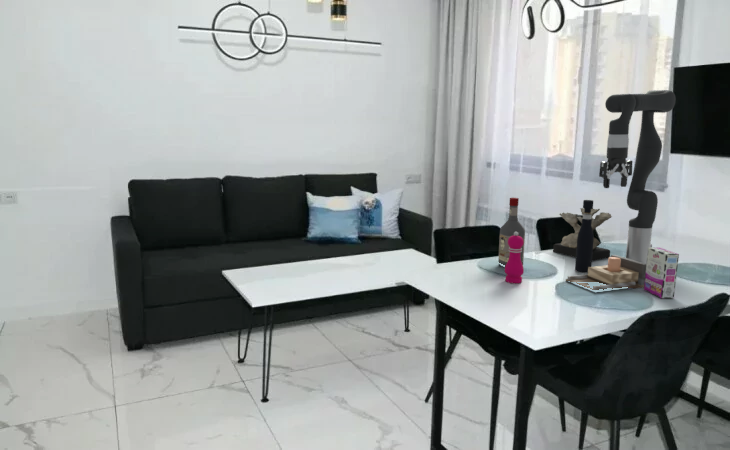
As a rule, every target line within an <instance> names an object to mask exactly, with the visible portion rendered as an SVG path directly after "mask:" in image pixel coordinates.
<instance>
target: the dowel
mask: <svg viewBox="0 0 730 450" xmlns="http://www.w3.org/2000/svg"><path fill="white" fill-rule="evenodd" d="M607 261H608V262H607V265H608V269H607V271H610V272H620V264H621V259H620V258H617V257H611V256H610V257H609V258H607Z"/></svg>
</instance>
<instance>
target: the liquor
mask: <svg viewBox="0 0 730 450" xmlns="http://www.w3.org/2000/svg"><path fill="white" fill-rule="evenodd" d="M518 210H519V198H518V197H510V198H509V212H508V218H507V219H508V220H507V221H506V222H505V223H504V224H502V226H501V227H500V229H499V238H498V239H499V241H498V242H499V244H498V262H499V263H501V264H503V265H505V266H506V264H507V262H508V260H509V255H510V251H509V247H510V246H509V245H508V239H509V237H511V236H513V235H514V232H518V236H520V237H522V238H523V241H524V244H523V246H522V247H521V248H522V252H521V254H520V258H521V262H522V265H523V266H524V260H525V259H524V257H525V256H524V255H525V244H526V243H525V242H526V241H525V239H526V230H525V227H524V226H523V225H522V224H521V222H520V221H519V218H518V216H519V215H518V213H519V211H518Z"/></svg>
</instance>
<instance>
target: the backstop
mask: <svg viewBox="0 0 730 450" xmlns="http://www.w3.org/2000/svg"><path fill="white" fill-rule="evenodd" d="M610 257H617V258H620V259H621V264H620V267H623V268H626V269H629V270H632V271H635V272H639V275H638V283H637V284H635V282H626V283H618V284H609V285H600V286H593V289H592V288H590V286H587V285H589V284H588V283H577V282H598V281H595V280H592V279H590V278H587V277H588V273H585V274H578V275H570V276H569V275H568V276H567V278H566V279H565V282H566V281H570V282H576V283H577V284H579V285H582V286H584V287H587V288H590V289H592V290H599V289H603V290H604V289H607V288H612V289H613V288H622V287H628V288H633V289H639V288H640V289H641V288H644V284H645V274H646V265H647V264H645V263H641V262H638V261H635V260H631V259H628V258H626V256H625V257H624V256H620V255H618V254H610ZM599 283H601V282H599ZM633 289H632V290H633Z"/></svg>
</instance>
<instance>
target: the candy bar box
mask: <svg viewBox="0 0 730 450" xmlns="http://www.w3.org/2000/svg"><path fill="white" fill-rule="evenodd" d="M679 258H680V254H679V253H677V252H673V251H671V250H667V249H665V248H663V247H652V248H648V255H647V265H646V274H645V284H644V287H643V290H644V291H645V292H647V293H650V294H652V295H654V296H655V297H658V298H660V299H666V300H667V299H670V300H671V299H675V291H676V283H677V276H678V275H677V274H678V265H679Z"/></svg>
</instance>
